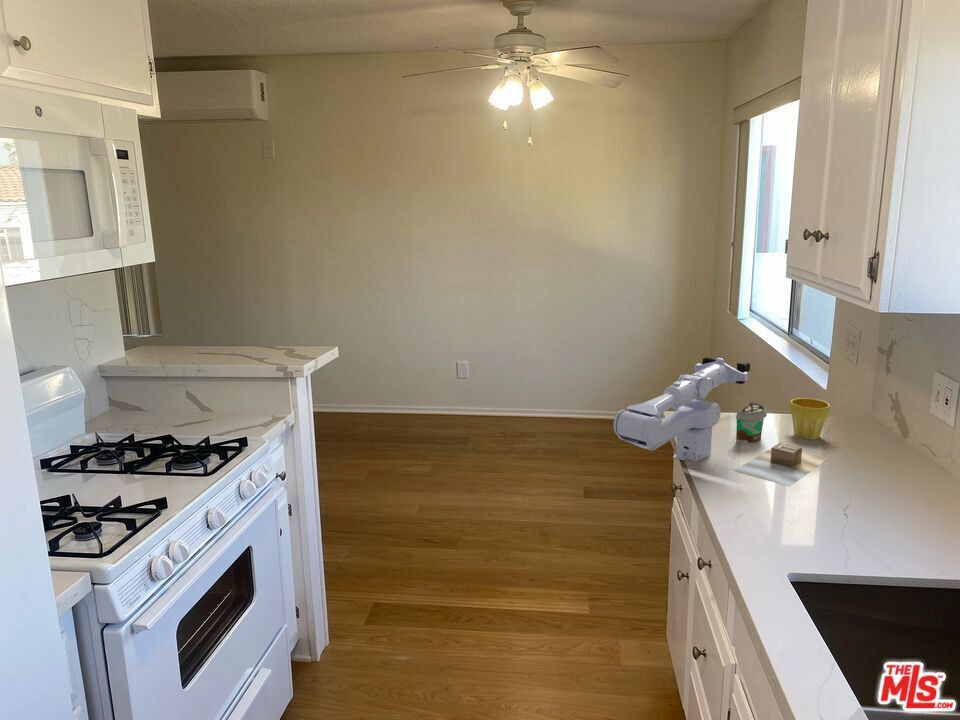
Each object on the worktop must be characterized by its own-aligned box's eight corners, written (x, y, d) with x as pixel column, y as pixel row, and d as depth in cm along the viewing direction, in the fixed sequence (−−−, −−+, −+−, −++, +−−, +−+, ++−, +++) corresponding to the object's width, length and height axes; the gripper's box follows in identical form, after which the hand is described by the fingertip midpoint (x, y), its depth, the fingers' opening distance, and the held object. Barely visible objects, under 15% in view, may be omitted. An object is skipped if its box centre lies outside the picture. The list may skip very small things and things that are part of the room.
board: (789, 490, 170) (789, 486, 170) (733, 474, 180) (733, 470, 180) (829, 461, 186) (829, 458, 186) (775, 448, 196) (776, 445, 196)
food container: (757, 450, 195) (759, 415, 193) (734, 446, 199) (736, 411, 196) (770, 437, 205) (772, 404, 202) (748, 433, 208) (750, 400, 206)
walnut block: (791, 467, 181) (793, 452, 180) (770, 462, 184) (771, 447, 183) (801, 461, 184) (802, 446, 183) (779, 456, 188) (780, 441, 187)
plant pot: (829, 432, 207) (832, 400, 205) (824, 444, 199) (827, 410, 196) (791, 427, 213) (793, 395, 210) (784, 438, 204) (787, 405, 202)
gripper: (736, 367, 185) (761, 354, 194) (686, 358, 195) (711, 346, 204) (736, 393, 187) (760, 379, 196) (686, 383, 197) (711, 370, 206)
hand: (735, 364), depth 200 cm, fingers open, 7 cm apart
